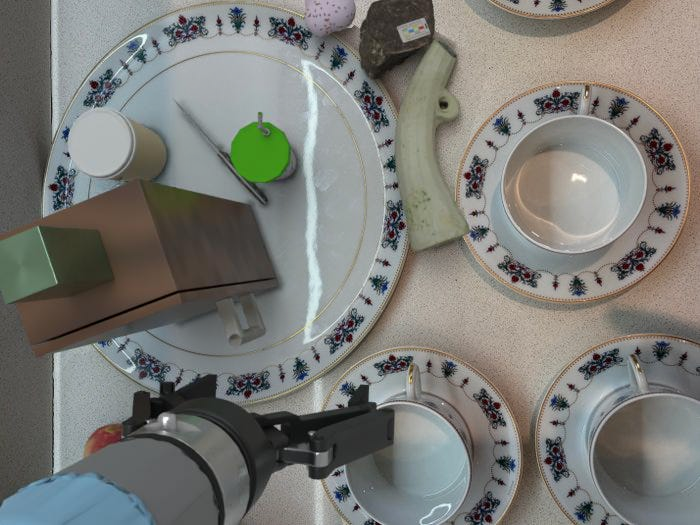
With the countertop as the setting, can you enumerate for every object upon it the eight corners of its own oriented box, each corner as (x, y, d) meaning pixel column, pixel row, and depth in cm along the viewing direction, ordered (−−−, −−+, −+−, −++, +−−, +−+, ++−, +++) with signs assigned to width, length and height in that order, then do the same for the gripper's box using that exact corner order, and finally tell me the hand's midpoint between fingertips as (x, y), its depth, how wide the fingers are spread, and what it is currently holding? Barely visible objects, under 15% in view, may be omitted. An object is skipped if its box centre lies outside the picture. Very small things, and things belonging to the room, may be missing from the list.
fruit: (96, 425, 99) (65, 440, 91) (142, 411, 98) (115, 425, 90) (112, 476, 99) (81, 495, 91) (158, 462, 98) (131, 481, 90)
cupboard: (276, 277, 94) (177, 290, 61) (177, 313, 97) (30, 345, 64) (250, 204, 95) (138, 178, 62) (152, 242, 97) (-7, 237, 64)
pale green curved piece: (405, 254, 91) (478, 246, 90) (407, 255, 83) (488, 245, 82) (380, 50, 91) (454, 40, 90) (380, 29, 83) (461, 18, 82)
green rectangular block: (115, 279, 62) (57, 284, 53) (68, 297, 63) (4, 304, 54) (97, 229, 62) (37, 225, 53) (51, 247, 63) (-15, 246, 54)
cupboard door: (292, 324, 94) (203, 362, 61) (193, 359, 96) (54, 415, 63) (276, 278, 94) (178, 292, 61) (177, 315, 97) (32, 348, 64)
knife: (173, 103, 97) (164, 98, 94) (180, 96, 96) (171, 91, 93) (264, 206, 95) (258, 205, 92) (271, 200, 94) (265, 198, 91)
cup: (276, 202, 94) (242, 192, 79) (243, 159, 95) (203, 142, 80) (319, 166, 93) (292, 150, 78) (285, 123, 94) (253, 99, 79)
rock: (427, -15, 87) (451, 42, 86) (408, 13, 93) (430, 65, 93) (357, 5, 84) (381, 63, 83) (343, 32, 91) (366, 86, 90)
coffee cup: (100, 160, 99) (51, 148, 87) (138, 110, 97) (94, 91, 86) (146, 200, 97) (103, 193, 86) (185, 150, 96) (146, 136, 85)
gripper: (416, 428, 35) (433, 360, 56) (-13, 394, 39) (153, 343, 60) (411, 570, 35) (429, 449, 56) (-16, 522, 39) (150, 426, 60)
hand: (286, 394), depth 58 cm, fingers open, 13 cm apart
